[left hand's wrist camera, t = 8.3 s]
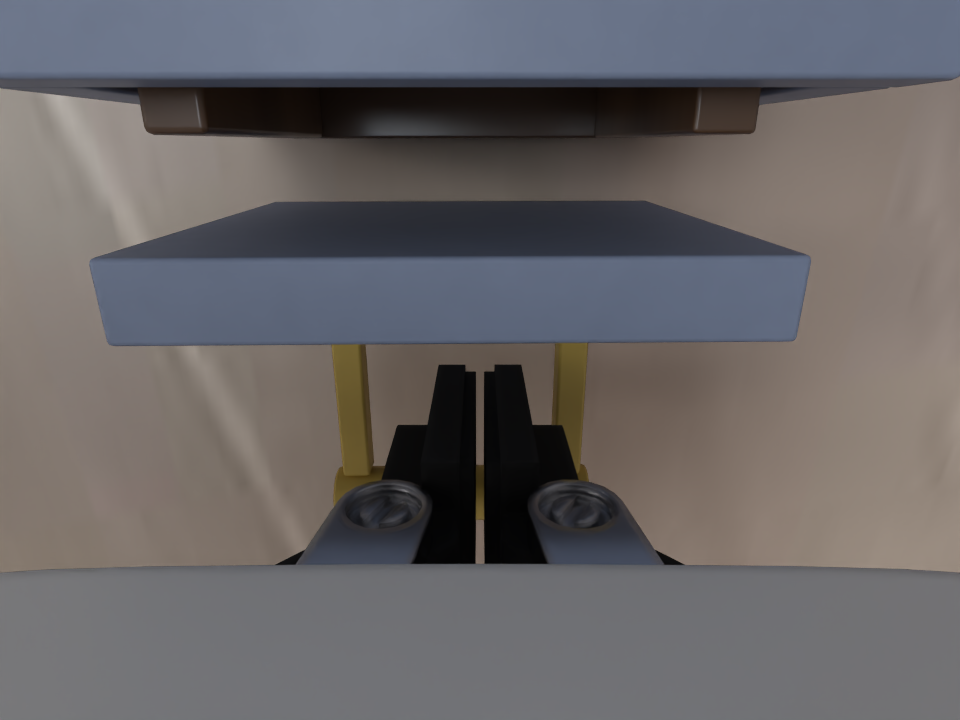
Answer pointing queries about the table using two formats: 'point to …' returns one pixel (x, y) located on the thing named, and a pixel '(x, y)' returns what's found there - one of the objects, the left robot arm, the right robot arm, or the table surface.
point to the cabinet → (477, 44)
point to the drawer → (450, 247)
